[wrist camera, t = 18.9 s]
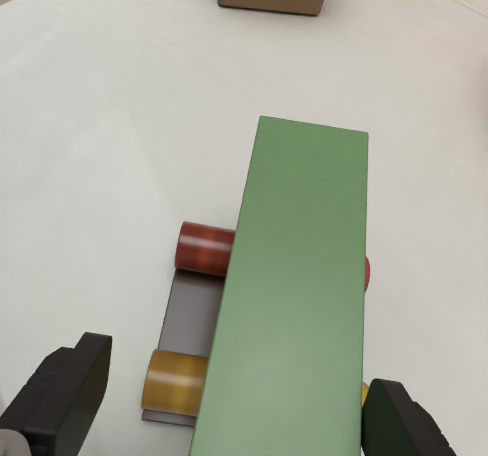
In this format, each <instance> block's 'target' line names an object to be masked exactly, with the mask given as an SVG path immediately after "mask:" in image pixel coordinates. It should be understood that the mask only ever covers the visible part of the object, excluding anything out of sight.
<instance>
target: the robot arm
mask: <svg viewBox="0 0 488 456" xmlns="http://www.w3.org/2000/svg"><path fill="white" fill-rule="evenodd" d="M111 348H112V336H108V335H102V334H96V333H89V332H85V333H84V334H83V336H82V337H81V339H80V340H79V342H78V343H77V345H76V346H75V348H74V349H73V348H66V347H61V348H59V349H58V350H56V351H55V352H53V353H51V354H50V355H48V356H47V357H45V359H44V360H43V361H42V363H41V364H40V365H39V367H38V368H37V369H36V371H35V373H33V375H32V376H31V377H30V379H29V380H28V381H27V384H26V385H24V386H23V388H22V389H21V390H20V392H19V393H18V394H17V396H16V397H15V398H14V400H13V401H12V402H11V404H10V405H9V406H8V408H7V409H6V410H5V411H4V413H3V414H2V415H1V417H0V456H78V453H79V451H80V449H81V447H82V445H83V442H84V440H85V438H86V436H87V434H88V431H89V429H90V427H91V425H92V423H93V420H94V418H95V416H96V414H97V411H98V409H99V407H100V405H101V403H102V400H103V397H104V394H105V391H106V387H107V382H108V375H109V366H110V357H111ZM361 447H362V449H363V452H364V455H365V456H456V454H455V452H454V451H453V449H452V448H451V447H449V443H448V441H447V440H446V438H445V437H444V435H443V434H441V430H440V429H439V427H438V426H437V424H436V423H435V421H434V419H433V418H432V416H431V415H430V414H429V413H428V412H427V411H426V410H424V409H423V408H422V407H421V406H420V405H419V404H418V403H417V402H413V401H412V399H411V398H410V396H409V394H408V393H407V391H406V390H405V388H404V386H403V385H402V384H401V383H400V382H396V381H390V380H384V379H377V378H375V379H373V380H372V382H371V384H370V387H369V390H368V392H367V395H366V398H365V401H364V404H363V406H362V419H361Z"/></svg>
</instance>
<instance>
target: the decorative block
mask: <svg viewBox="0 0 488 456" xmlns="http://www.w3.org/2000/svg"><path fill="white" fill-rule="evenodd" d="M323 1H324V0H218V2H219V3H220V5H221V6H231V7H241V8H251V9H261V10H271V11H280V12H289V13H299V14H308V15H317V14H318V13H320V10H321V7H322V4H323Z"/></svg>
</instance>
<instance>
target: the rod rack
mask: <svg viewBox="0 0 488 456" xmlns="http://www.w3.org/2000/svg"><path fill="white" fill-rule="evenodd" d="M235 232H236V231H234V230H229V229H223V228H218V227H213V226H207V225H202V224H197V223H191V222H186V221H184V222H183V224H182V227H181V230H180V234H179V239H178V244H177V249H176V255H175V268H176V270H175V274H174V279H173V283H172V287H171V292H170V296H169V300H168V305H167V309H166V314H165V318H164V322H163V327H162V331H161V336H160V340H159V344H158V349H155V350H154V351H153V354H152V356H151V360H150V363H149V367H148V371H147V375H146V379H145V384H144V389H143V395H142V402H141V408H142V409H144V410H143V414H142V420H147V421H154V422H161V423H168V424H175V425H182V426H189V427H195V423H196V418H197V413H198V408H199V403H200V399H201V394H202V389H203V384H204V380H205V375H206V370H207V365H208V361H209V356H210V351H211V346H212V342H213V337H214V332H215V327H216V323H217V318H218V313H219V308H220V304H221V299H222V294H223V289H224V285H225V280H226V275H227V270H228V266H229V261H230V256H231V251H232V247H233V242H234V237H235ZM369 278H370V264H369V260H368V258H367V257H366V256H365V292H366V290H367V287H368V283H369ZM368 390H369V386H368V385H367V384H366V383H364V382H362V406H363V404H364V401H365V398H366V395H367V392H368Z"/></svg>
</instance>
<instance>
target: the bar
mask: <svg viewBox="0 0 488 456" xmlns="http://www.w3.org/2000/svg"><path fill="white" fill-rule="evenodd" d="M367 173H368V133H367V132H361V131H355V130H349V129H342V128H336V127H330V126H323V125H317V124H311V123H305V122H298V121H292V120H286V119H279V118H273V117H267V116H260V118H259V123H258V128H257V132H256V137H255V142H254V147H253V151H252V156H251V161H250V166H249V170H248V175H247V180H246V185H245V189H244V194H243V199H242V204H241V208H240V213H239V218H238V223H237V227H236V232H235V237H234V242H233V247H232V251H231V256H230V261H229V266H228V270H227V275H226V280H225V285H224V289H223V294H222V299H221V304H220V308H219V313H218V318H217V323H216V327H215V332H214V337H213V342H212V346H211V351H210V356H209V361H208V365H207V370H206V375H205V380H204V384H203V389H202V394H201V399H200V403H199V408H198V413H197V418H196V423H195V427H194V432H193V437H192V442H191V446H190V451H189V456H361V419H362V378H363V337H364V296H365V255H366V214H367Z"/></svg>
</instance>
